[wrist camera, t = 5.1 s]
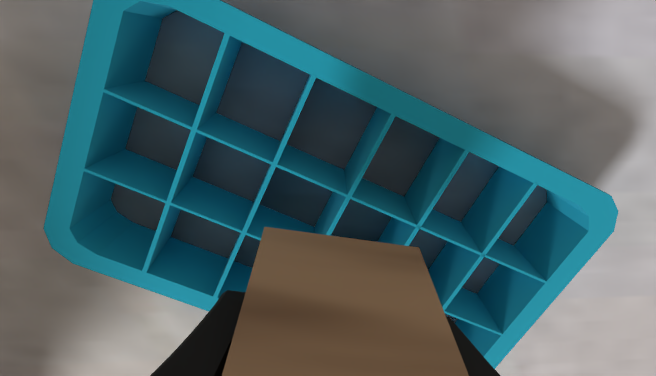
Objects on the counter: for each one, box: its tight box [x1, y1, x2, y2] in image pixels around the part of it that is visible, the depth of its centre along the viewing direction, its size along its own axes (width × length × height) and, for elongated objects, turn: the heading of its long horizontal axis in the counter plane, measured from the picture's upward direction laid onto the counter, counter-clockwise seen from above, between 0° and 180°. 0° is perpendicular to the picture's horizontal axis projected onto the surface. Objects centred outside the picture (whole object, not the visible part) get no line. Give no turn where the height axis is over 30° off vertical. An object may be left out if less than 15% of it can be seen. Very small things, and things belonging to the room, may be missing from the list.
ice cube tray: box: [44, 0, 618, 369], centre depth 17 cm, size 12×20×3 cm, turn 65°
